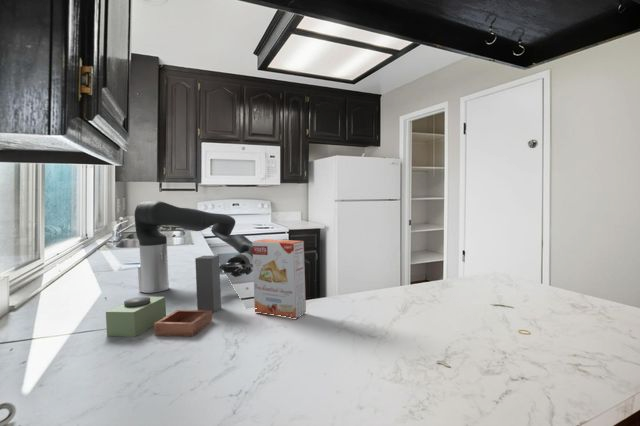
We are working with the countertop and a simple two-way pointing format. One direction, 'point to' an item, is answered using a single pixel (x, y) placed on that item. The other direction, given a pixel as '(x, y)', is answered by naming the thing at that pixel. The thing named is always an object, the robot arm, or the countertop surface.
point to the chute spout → (208, 283)
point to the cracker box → (279, 277)
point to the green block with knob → (135, 316)
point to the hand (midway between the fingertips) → (222, 273)
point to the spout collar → (183, 323)
